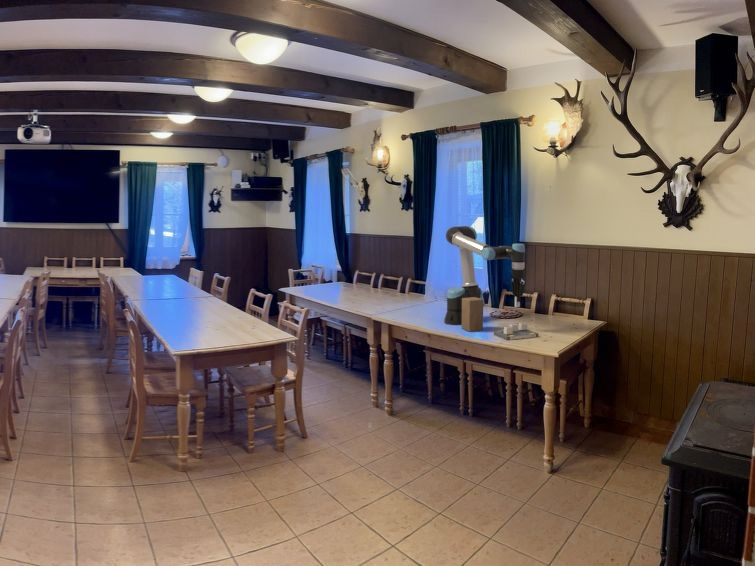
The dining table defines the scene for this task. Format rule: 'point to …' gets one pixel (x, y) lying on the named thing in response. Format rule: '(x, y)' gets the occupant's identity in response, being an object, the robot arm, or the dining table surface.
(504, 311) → the dining table surface
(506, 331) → the slider
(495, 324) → the dining table surface
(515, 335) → the console
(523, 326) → the slider
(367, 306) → the dining table surface
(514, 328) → the slider
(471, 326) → the wooden block
